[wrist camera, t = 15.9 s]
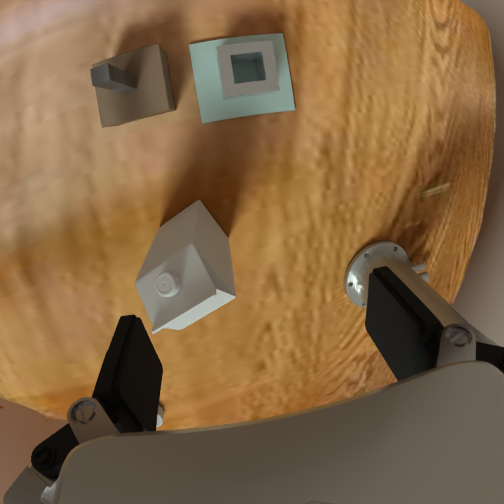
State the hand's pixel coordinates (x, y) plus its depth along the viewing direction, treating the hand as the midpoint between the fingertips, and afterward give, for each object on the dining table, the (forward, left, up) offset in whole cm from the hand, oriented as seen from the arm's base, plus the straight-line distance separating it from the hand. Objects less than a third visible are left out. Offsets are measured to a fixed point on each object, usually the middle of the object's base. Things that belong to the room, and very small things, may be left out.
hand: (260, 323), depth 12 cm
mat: (-4, -13, -30) cm, 33 cm away
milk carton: (+6, +7, -31) cm, 32 cm away
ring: (-4, -13, -30) cm, 33 cm away
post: (+9, -14, -30) cm, 35 cm away
